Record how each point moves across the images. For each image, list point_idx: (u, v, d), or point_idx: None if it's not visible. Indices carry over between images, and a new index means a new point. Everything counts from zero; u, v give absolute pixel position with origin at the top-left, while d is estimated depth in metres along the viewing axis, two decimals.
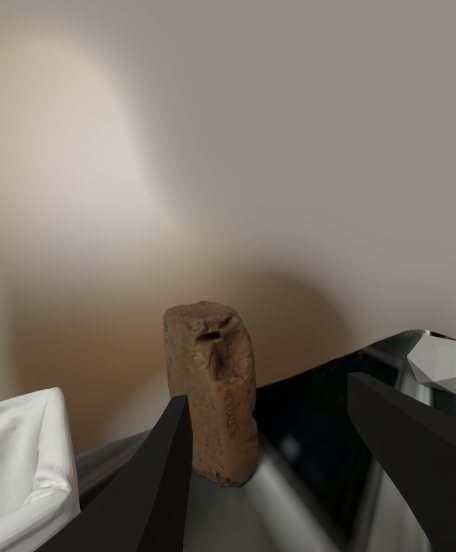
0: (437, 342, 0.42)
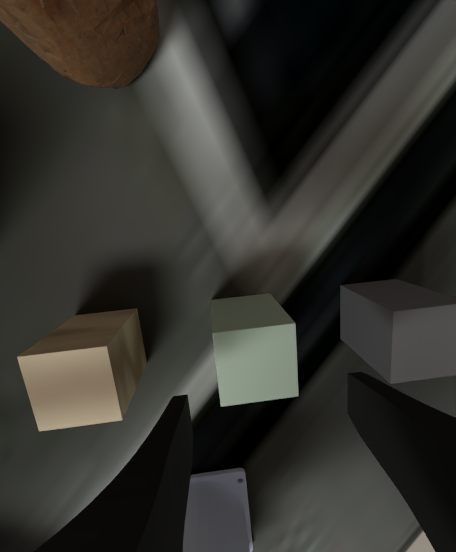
0: None
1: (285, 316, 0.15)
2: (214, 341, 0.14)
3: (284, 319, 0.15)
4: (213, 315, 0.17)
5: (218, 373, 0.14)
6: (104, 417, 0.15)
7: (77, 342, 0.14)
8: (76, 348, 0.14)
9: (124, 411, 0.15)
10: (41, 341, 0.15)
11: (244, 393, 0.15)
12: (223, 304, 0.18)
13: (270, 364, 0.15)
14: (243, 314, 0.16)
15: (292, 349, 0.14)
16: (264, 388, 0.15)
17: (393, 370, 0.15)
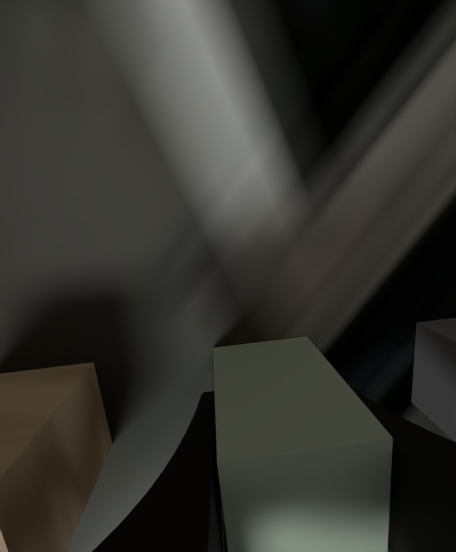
0: None
1: (360, 409, 0.08)
2: (221, 478, 0.07)
3: (362, 420, 0.07)
4: (217, 394, 0.09)
5: (229, 536, 0.07)
6: None
7: None
8: None
9: None
10: None
11: None
12: (233, 361, 0.11)
13: (336, 515, 0.07)
14: (273, 393, 0.09)
15: (382, 487, 0.07)
16: None
17: None
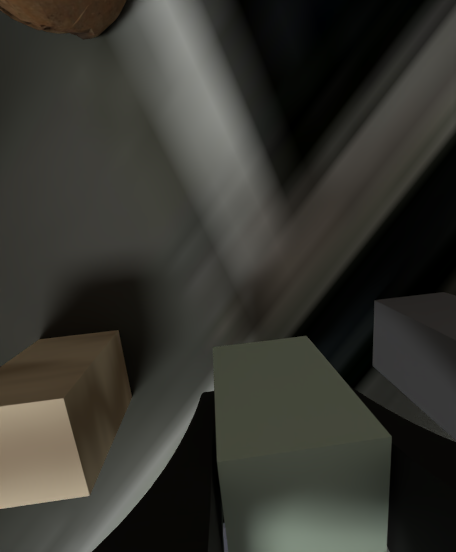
0: None
1: (359, 408, 0.08)
2: (221, 477, 0.07)
3: (361, 419, 0.07)
4: (217, 393, 0.09)
5: (229, 534, 0.07)
6: (64, 493, 0.10)
7: (26, 388, 0.10)
8: (20, 401, 0.10)
9: (93, 480, 0.11)
10: None
11: None
12: (233, 360, 0.11)
13: (336, 514, 0.07)
14: (273, 393, 0.09)
15: (381, 485, 0.07)
16: None
17: None
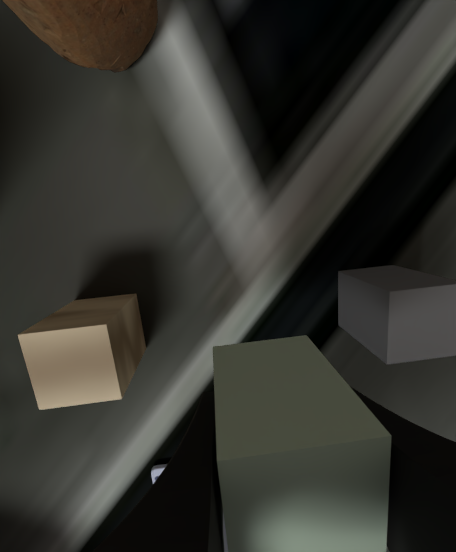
0: None
1: (359, 407, 0.08)
2: (221, 476, 0.07)
3: (361, 418, 0.07)
4: (217, 392, 0.09)
5: (229, 533, 0.07)
6: (104, 396, 0.15)
7: (77, 322, 0.15)
8: (75, 327, 0.14)
9: (123, 390, 0.15)
10: (41, 321, 0.15)
11: None
12: (233, 360, 0.11)
13: (335, 513, 0.07)
14: (273, 392, 0.09)
15: (381, 484, 0.07)
16: None
17: (389, 351, 0.15)
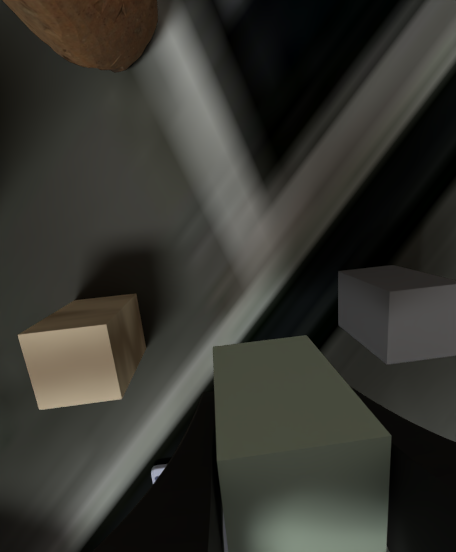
0: None
1: (359, 407, 0.08)
2: (221, 476, 0.07)
3: (361, 418, 0.07)
4: (217, 392, 0.09)
5: (229, 533, 0.07)
6: (104, 396, 0.15)
7: (77, 322, 0.15)
8: (75, 327, 0.14)
9: (123, 390, 0.15)
10: (41, 321, 0.15)
11: None
12: (233, 360, 0.11)
13: (335, 513, 0.07)
14: (273, 392, 0.09)
15: (381, 484, 0.07)
16: None
17: (389, 351, 0.15)
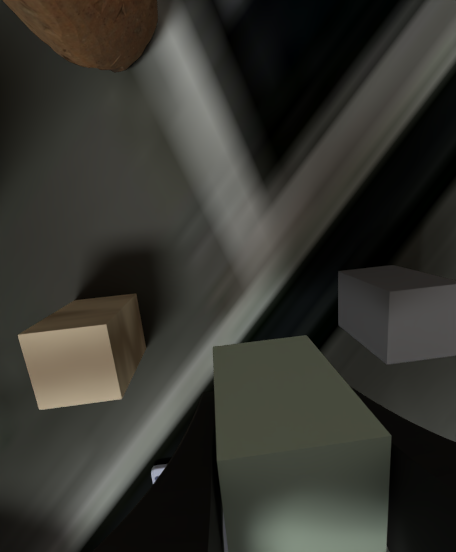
0: None
1: (359, 407, 0.08)
2: (221, 476, 0.07)
3: (361, 418, 0.07)
4: (217, 392, 0.09)
5: (229, 533, 0.07)
6: (104, 396, 0.15)
7: (77, 322, 0.15)
8: (75, 327, 0.14)
9: (123, 390, 0.15)
10: (41, 321, 0.15)
11: None
12: (233, 360, 0.11)
13: (335, 513, 0.07)
14: (273, 392, 0.09)
15: (381, 484, 0.07)
16: None
17: (389, 351, 0.15)
